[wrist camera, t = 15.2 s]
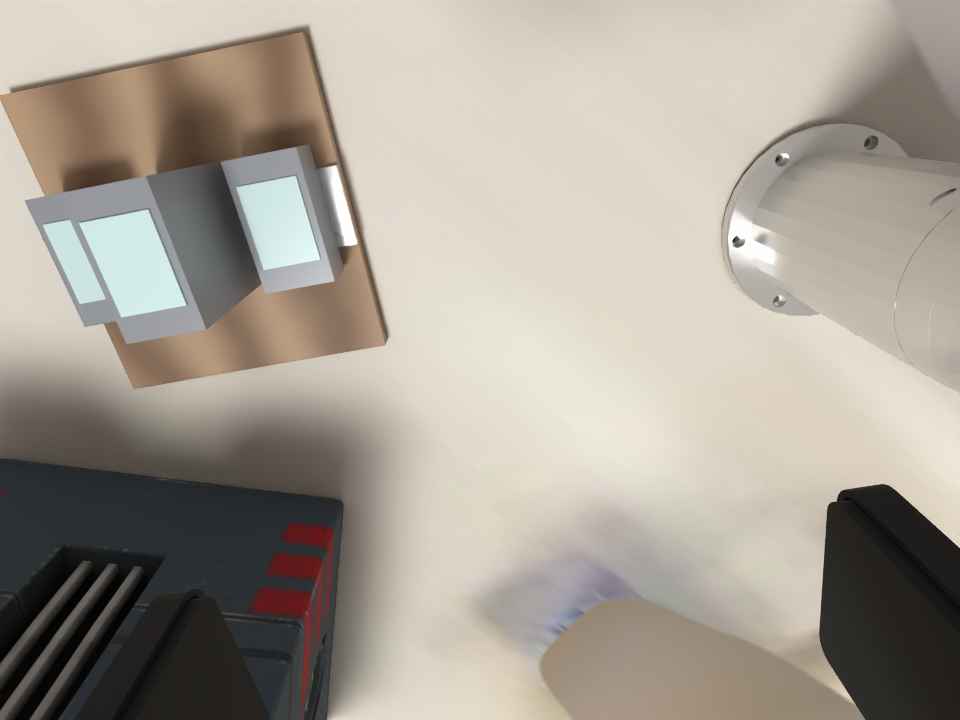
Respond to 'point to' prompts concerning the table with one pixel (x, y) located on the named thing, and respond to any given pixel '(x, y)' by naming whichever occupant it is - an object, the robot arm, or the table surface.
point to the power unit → (159, 580)
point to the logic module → (165, 249)
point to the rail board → (196, 137)
